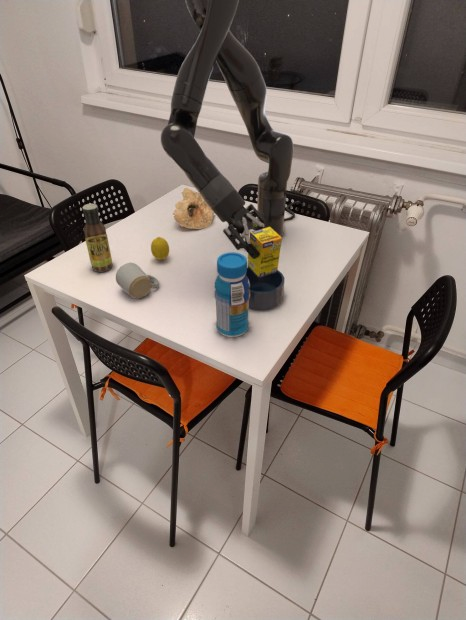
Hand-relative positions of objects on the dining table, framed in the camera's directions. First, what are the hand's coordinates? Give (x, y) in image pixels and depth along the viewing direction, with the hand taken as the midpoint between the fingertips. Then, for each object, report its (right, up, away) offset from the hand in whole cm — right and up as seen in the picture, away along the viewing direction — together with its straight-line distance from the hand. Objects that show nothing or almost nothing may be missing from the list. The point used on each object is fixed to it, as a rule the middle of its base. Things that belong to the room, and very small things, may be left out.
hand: (263, 248), depth 101 cm
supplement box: (0, -5, +4) cm, 7 cm away
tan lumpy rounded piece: (-22, +17, +45) cm, 53 cm away
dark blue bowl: (0, -12, +10) cm, 15 cm away
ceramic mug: (-34, -10, +12) cm, 38 cm away
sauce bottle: (-48, -3, +21) cm, 52 cm away
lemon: (-30, 0, +25) cm, 39 cm away
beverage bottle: (-8, -20, 0) cm, 21 cm away
